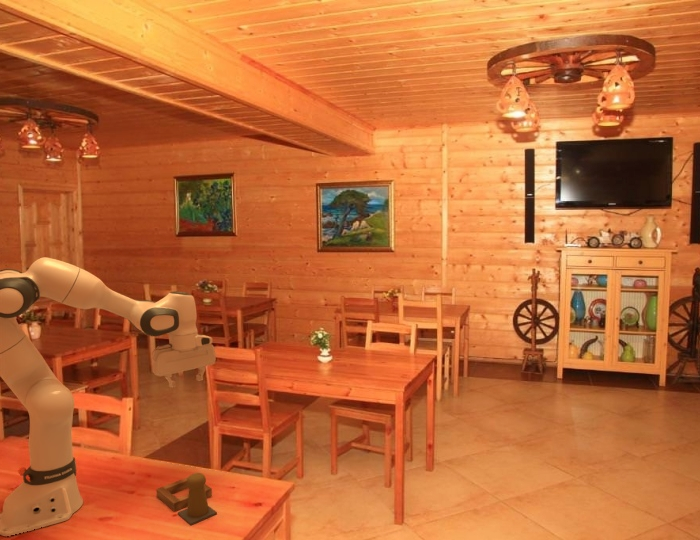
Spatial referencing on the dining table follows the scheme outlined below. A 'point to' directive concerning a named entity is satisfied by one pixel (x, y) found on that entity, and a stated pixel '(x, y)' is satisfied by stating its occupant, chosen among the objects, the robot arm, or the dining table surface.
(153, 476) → the dining table surface
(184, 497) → the walnut housing
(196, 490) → the cork
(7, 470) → the dining table surface
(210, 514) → the rubber mat
